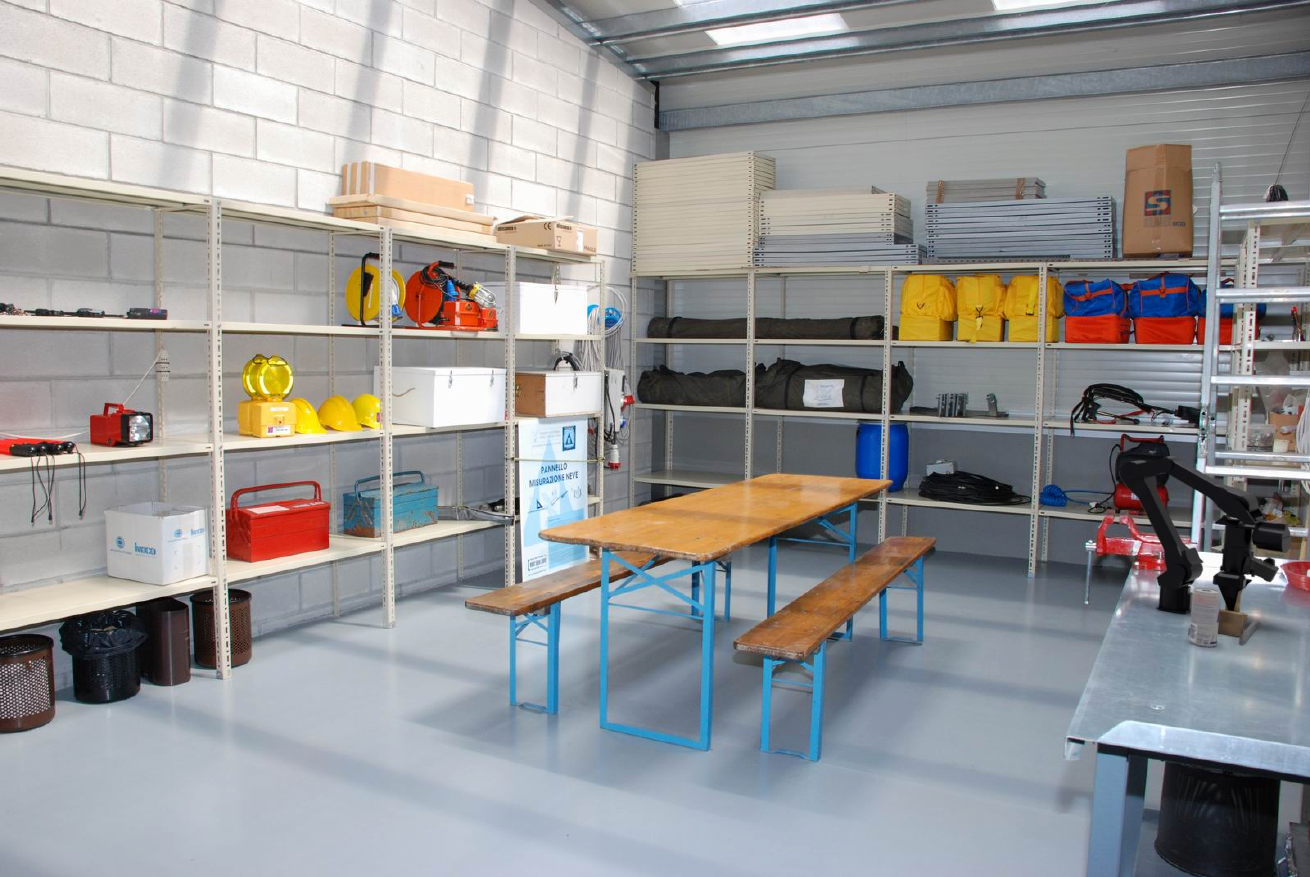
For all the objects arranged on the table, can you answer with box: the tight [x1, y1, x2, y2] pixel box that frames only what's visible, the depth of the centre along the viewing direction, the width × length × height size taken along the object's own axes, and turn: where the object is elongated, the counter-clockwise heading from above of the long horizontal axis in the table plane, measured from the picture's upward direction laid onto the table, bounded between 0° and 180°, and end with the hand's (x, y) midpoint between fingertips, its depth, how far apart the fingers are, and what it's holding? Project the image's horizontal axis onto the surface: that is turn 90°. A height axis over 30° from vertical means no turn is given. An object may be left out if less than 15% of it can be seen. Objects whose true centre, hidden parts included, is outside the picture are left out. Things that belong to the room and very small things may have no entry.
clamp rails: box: [1187, 619, 1259, 646], centre depth 225 cm, size 11×19×2 cm, turn 140°
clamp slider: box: [1218, 591, 1249, 637], centre depth 228 cm, size 8×14×8 cm, turn 140°
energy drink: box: [1188, 587, 1222, 648], centre depth 215 cm, size 5×5×12 cm
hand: (1232, 609), depth 233 cm, fingers closed on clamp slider, 3 cm apart
